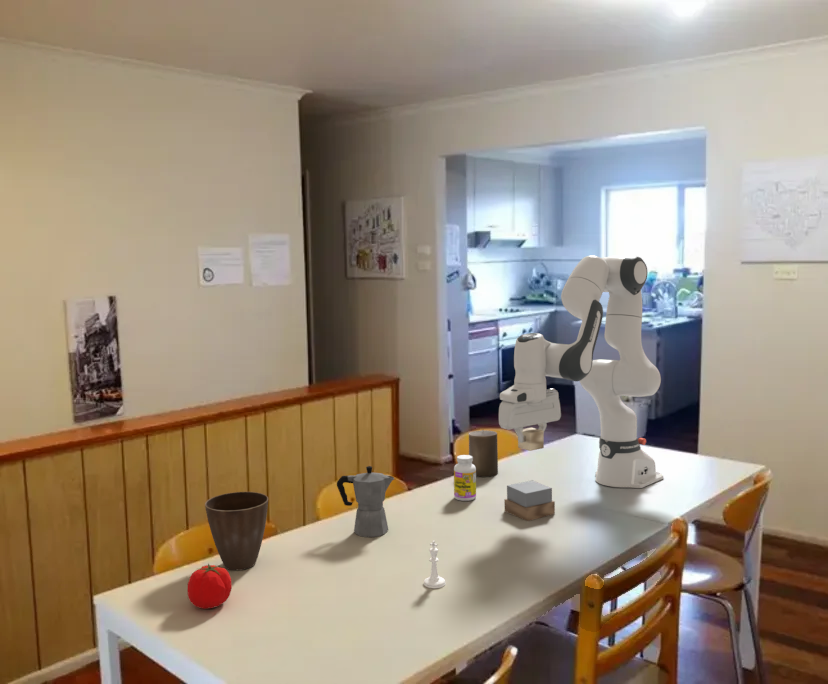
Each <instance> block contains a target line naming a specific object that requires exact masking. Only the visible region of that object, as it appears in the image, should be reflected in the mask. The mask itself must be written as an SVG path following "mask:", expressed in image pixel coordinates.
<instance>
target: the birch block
mask: <svg viewBox="0 0 828 684" xmlns="http://www.w3.org/2000/svg"><path fill="white" fill-rule="evenodd" d="M522 433H523V435H524V436H526V442H523V443H520V442H517V443H518V444H517V447H518V448H519V449H522V450H525V451H529V452H533V451H536V450H541V449H544V448H545V446H544V445H545V444H544V443H545V442H544V436H545V435H544V433H545V431H543V430H539V428H535V427H527V428H523V431H522Z"/></svg>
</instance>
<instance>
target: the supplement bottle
mask: <svg viewBox="0 0 828 684" xmlns="http://www.w3.org/2000/svg"><path fill="white" fill-rule="evenodd" d="M456 461H457V463H456V464H455V465H454V466H453V492H454V493H453V496H454V499H455V500H457V501H462V502H468V501H469V502H470V501H473V500H474V499H476V497H477V476H476V467H475V466H474V465H473V464H472V461H473V457H472V456H470V455H469V454H460V455H457V456H456Z"/></svg>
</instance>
